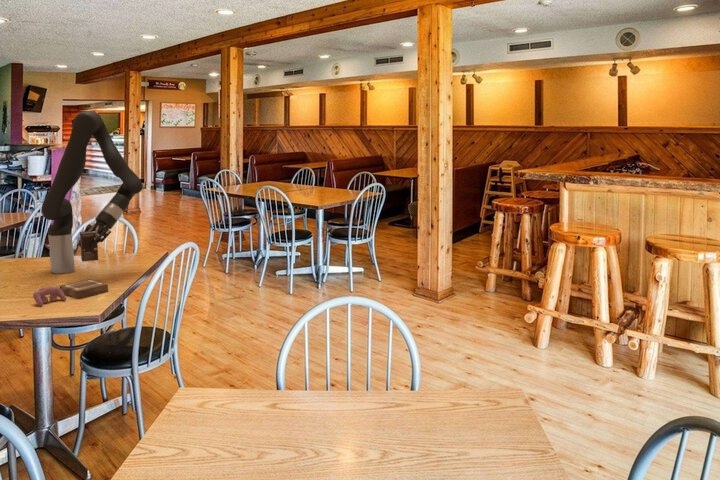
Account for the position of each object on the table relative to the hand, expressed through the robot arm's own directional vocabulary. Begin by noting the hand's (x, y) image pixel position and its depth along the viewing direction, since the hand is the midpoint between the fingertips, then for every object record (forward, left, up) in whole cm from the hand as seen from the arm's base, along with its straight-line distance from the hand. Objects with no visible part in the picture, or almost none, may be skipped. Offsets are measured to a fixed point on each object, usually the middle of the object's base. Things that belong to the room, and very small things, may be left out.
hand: (84, 247), depth 222 cm
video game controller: (+14, -23, -16) cm, 31 cm away
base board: (+12, -8, -15) cm, 21 cm away
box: (0, +2, -6) cm, 6 cm away
